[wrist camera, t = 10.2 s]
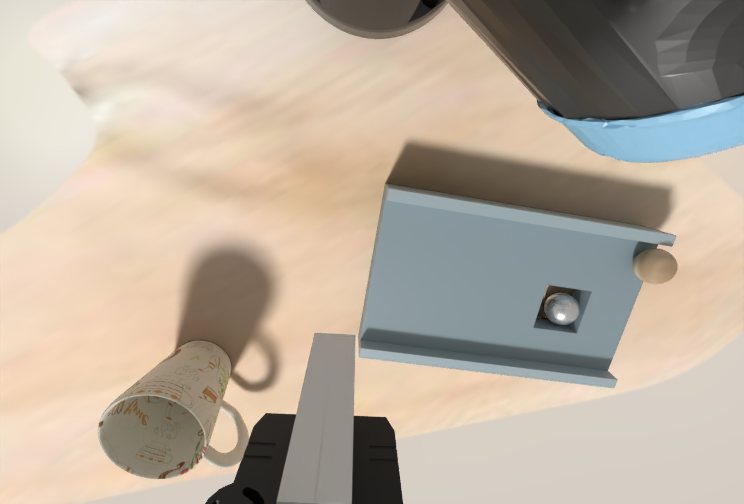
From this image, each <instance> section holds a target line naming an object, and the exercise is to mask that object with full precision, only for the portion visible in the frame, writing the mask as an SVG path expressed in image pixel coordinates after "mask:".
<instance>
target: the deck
mask: <svg viewBox="0 0 744 504" xmlns="http://www.w3.org/2000/svg"><path fill="white" fill-rule="evenodd" d="M675 239H676V235H672V234H669V233H665V232H662V231H658V230H655V229H651V228H648V227H645V226H640V225H634V224H628V223H622V222H616V221H610V220H604V219H598V218H592V217H586V216H580V215H574V214H567V213H561V212H555V211H549V210H543V209H537V208H531V207H525V206H519V205H513V204H507V203H501V202H495V201H489V200H483V199H477V198H471V197H465V196H459V195H453V194H447V193H441V192H435V191H429V190H423V189H417V188H411V187H405V186H399V185H393V184H386V183H385V187H384V193H383V199H382V205H381V210H380V216H379V222H378V227H377V233H376V239H375V244H374V250H373V256H372V261H371V267H370V273H369V279H368V284H367V290H366V296H365V301H364V307H363V313H362V318H361V324H360V330H359V335H358V341H359V358H368V359H376V360H384V361H392V362H401V363H409V364H417V365H426V366H434V367H442V368H450V369H459V370H467V371H475V372H484V373H492V374H500V375H508V376H517V377H525V378H533V379H542V380H550V381H558V382H566V383H575V384H583V385H591V386H600V387H608V388H614V387H615V385H616V382H617V379H616V378H615V377H614V376H613V375H612V374H611V373H610V372H608V369H609V366H610V364H611V361H612V359H613V356H614V354H615V351H616V349H617V346H618V344H619V341H620V339H621V336H622V334H623V331H624V329H625V326H626V324H627V321H628V319H629V316H630V314H631V311H632V309H633V306H634V304H635V301H636V298H637V296H638V293H639V291H640V288H641V286H642V283H643V281H642V280H641V279H639V278H638V277H637V276H636V274H635V273H634V270H633V262H634V259H635V257H636V256H637V255H638V254H639V253H641V252H642V251H645V250H647V249H656V248H657V246H658V244H660V245H666V246H673V243H674V241H675ZM547 285H552V286H559V287H566V288H572V289H574V292H573V295H572V296H573V297H574V298H575V299H576V300H577V302H578V304H579V307H580V312H579V316H578V317H577V319H576V320H575V321H574V322H572V323H570V324H567V325H560V324H556V323H554V322H552V321H551V320H546V319H538V318H537V315H538V311H539V308H540V305H541V302H542V299H543V296H544V293H545V290H546V287H547Z"/></svg>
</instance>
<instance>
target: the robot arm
mask: <svg viewBox="0 0 744 504" xmlns="http://www.w3.org/2000/svg"><path fill="white" fill-rule="evenodd" d="M306 1H307V3H308V4H309V5H310V6H311V7H312V9H313V10H314V11H316V12H317V13H318V14H319V15H320V16H321V17H322V18H323V19H325V20H326V21H327V22H329V23H330V24H332V25H333V26H335V27H336V28H338V29H340V30H342V31H345V32H347V33H349V34H352V35H355V36H359V37H364V38H372V39H385V38H393V37H397V36H401V35H404V34H407V33H410V32H412V31H414V30H416V29H418V28H420V27H422V26H423V25H425V24H426V23H428V22H429V21H430V20H432V19H433V18H434V17H435V16H436V15H437V14H438V13H439V12H440V11H441V10H442V9H443V8H444V7H445V6H446V5H447V4H448V3H449V4H450V5H451V6H452V7H453V9H454V10H455V11H456V12H457V13H458V14H459V15H460V16H461V17H462V18H463V19H464V20H465V22H466V23H467V24H468V25H469V26H470V27H471V28H472V29H473V30H474V31H475V32H476V34H477V35H478V36H479V37H480V38H481V39H482V40H483V41H484V42H485V43H486V44H487V45H488V47H489V48H490V49H491V50H492V51H493V52H494V53H495V54H496V55H497V56H498V57H499V59H500V60H501V61H502V62H503V63H504V64H505V65H506V66H507V67H508V68H509V69H510V71H511V72H512V73H513V74H514V75H515V76H516V77H517V78H518V79H519V80H520V81H521V82H522V84H523V85H524V86H525V87H526V88H527V89H528V90H529V91H530V92H531V93H532V94H533V96H534V97H535V98H536V99H537V103H538V106H539V107H540V108H541V109H542V111H543V112H544V113H545V114H546V115H548V116H549V117H550V118H552V119H554V120H556V121H559V122H561V123H562V124H563V125H564V126H565V127H566V128H567V129H568V130H569V131H570V132H571V133H572V134H573V135H574V136H576V137H577V138H578V139H579V140H580V141H581V142H582V143H583V144H584V145H585V146H586V147H587V148H589V149H590V150H592V151H594V152H595V153H597V154H599V155H602V156H609V157H612V158H615V159H617V160H623V161H626V162H637V163H655V162H668V161H676V160H683V159H688V158H694V157H699V156H703V155H707V154H711V153H715V152H719V151H723V150H727V149H730V148H733V147H737V146H740V145H743V144H744V0H306ZM354 374H355V335H345V334H327V333H315V334H314V339H313V343H312V347H311V352H310V356H309V361H308V365H307V369H306V374H305V378H304V383H303V387H302V391H301V396H300V400H299V405H298V409H297V414H296V415H295V414H271V413H266V414H265V415H264V416H263V417H262V418H261V419H260V420H259V421H258V422H257V424H256V425H255V426H254V427H253V430H252V433H251V436H250V439H249V441H248V445H247V447H246V450H245V452H244V455H243V459H242V461H241V463H240V466H239V469H238V472H237V474H236V477H235V480H234V483H232V484H230V485H227V486H225V487H223V488H221V489H219V490H218V491H217V492H216V493H215V494H213V495H212V496H211V497H210V498H209V499H208V500H207V502H206V503H205V504H403V500H402V491H401V483H400V474H399V466H398V458H397V450H396V440H395V432H394V429H393V428H392V426H391V425H390V423H389V421H388V420H387V418H386V417H368V416H354Z"/></svg>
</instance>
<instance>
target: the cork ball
mask: <svg viewBox="0 0 744 504" xmlns="http://www.w3.org/2000/svg"><path fill="white" fill-rule="evenodd" d="M633 270H634V273H635V274H636V276H637V277H638V278H639V279H641V280H642V281H644V282H647V283H651V284H661V283H664V282H667V281H669V280H670V279H672V278H673V277H674V275H675V274H676V272H677V262H676V260H675V258H674V257H673V256H672V255H671V254H670V253H669V252H667V251H665V250H662V249H647V250H645V251H642V252H641V253H639V254H638V255H637V256H636V257H635V259H634V262H633Z"/></svg>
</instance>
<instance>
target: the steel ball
mask: <svg viewBox="0 0 744 504" xmlns="http://www.w3.org/2000/svg"><path fill="white" fill-rule="evenodd" d="M544 312H545V314H546V316H547V317H548V319H549V320H551V321H552V322H554V323H556V324H560V325H567V324H570V323H572V322H574V321H575V320H576V319H577V317H578V316H579V312H580V307H579V304H578V302H577V300H576V299H575V298H574V297H573V296H571V295H569V294H567V293H555V294H552V295H551V296H549V297H548V298H547V299H546V301H545V303H544Z"/></svg>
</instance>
